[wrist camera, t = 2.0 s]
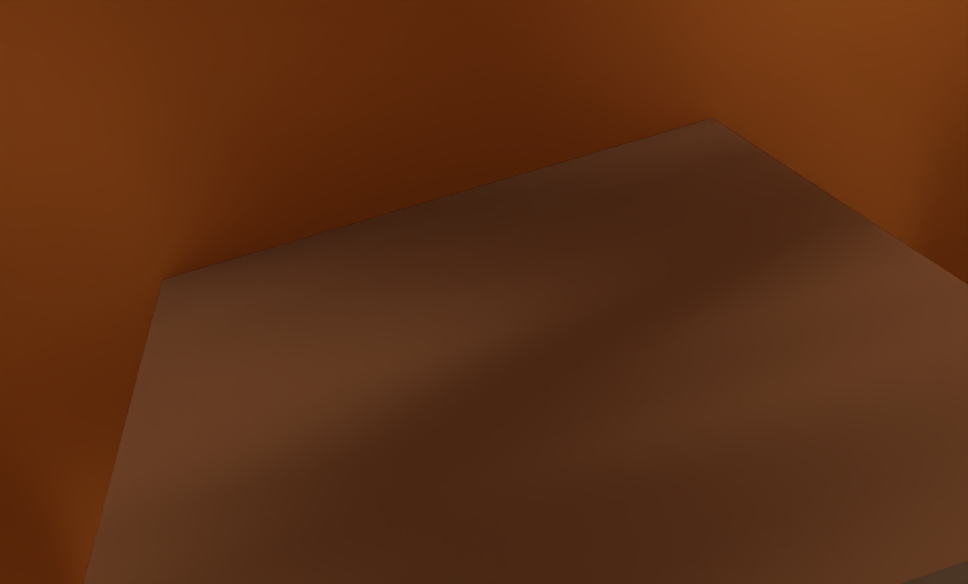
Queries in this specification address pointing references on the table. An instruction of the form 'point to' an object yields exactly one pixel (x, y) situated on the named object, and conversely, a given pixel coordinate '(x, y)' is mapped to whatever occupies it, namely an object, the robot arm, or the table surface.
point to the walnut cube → (558, 392)
